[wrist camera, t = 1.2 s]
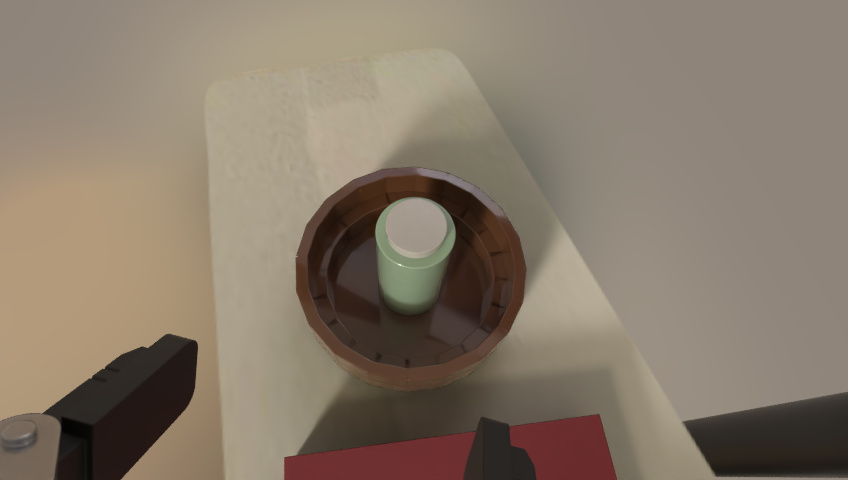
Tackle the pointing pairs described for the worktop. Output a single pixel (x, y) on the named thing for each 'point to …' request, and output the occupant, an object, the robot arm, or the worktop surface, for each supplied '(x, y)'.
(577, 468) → the book
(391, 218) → the pepper shaker
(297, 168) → the worktop surface
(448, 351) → the bowl
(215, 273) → the worktop surface
